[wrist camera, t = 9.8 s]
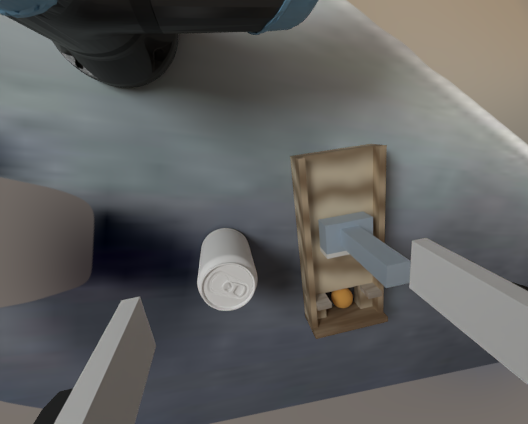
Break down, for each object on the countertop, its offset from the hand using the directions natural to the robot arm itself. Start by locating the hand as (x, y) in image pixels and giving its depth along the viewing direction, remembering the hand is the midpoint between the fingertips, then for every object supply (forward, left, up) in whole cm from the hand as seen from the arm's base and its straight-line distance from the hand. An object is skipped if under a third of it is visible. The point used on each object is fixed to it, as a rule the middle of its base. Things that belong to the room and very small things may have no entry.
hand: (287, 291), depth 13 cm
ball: (+26, +16, -30) cm, 42 cm away
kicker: (+12, +16, -29) cm, 35 cm away
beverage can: (+12, -4, -32) cm, 34 cm away
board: (+14, +16, -32) cm, 38 cm away
